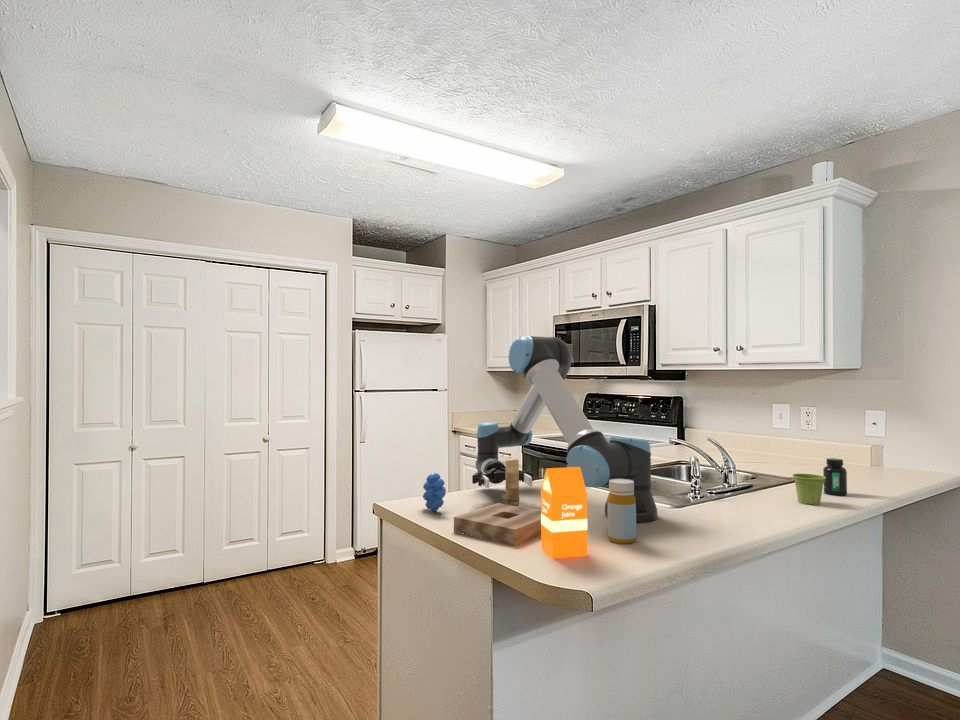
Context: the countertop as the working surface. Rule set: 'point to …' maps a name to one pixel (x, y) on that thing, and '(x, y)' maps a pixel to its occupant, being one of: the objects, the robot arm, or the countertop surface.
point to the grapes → (434, 492)
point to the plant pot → (809, 488)
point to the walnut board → (501, 523)
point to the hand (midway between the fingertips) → (509, 482)
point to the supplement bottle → (835, 478)
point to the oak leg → (512, 482)
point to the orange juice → (564, 513)
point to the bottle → (621, 511)
